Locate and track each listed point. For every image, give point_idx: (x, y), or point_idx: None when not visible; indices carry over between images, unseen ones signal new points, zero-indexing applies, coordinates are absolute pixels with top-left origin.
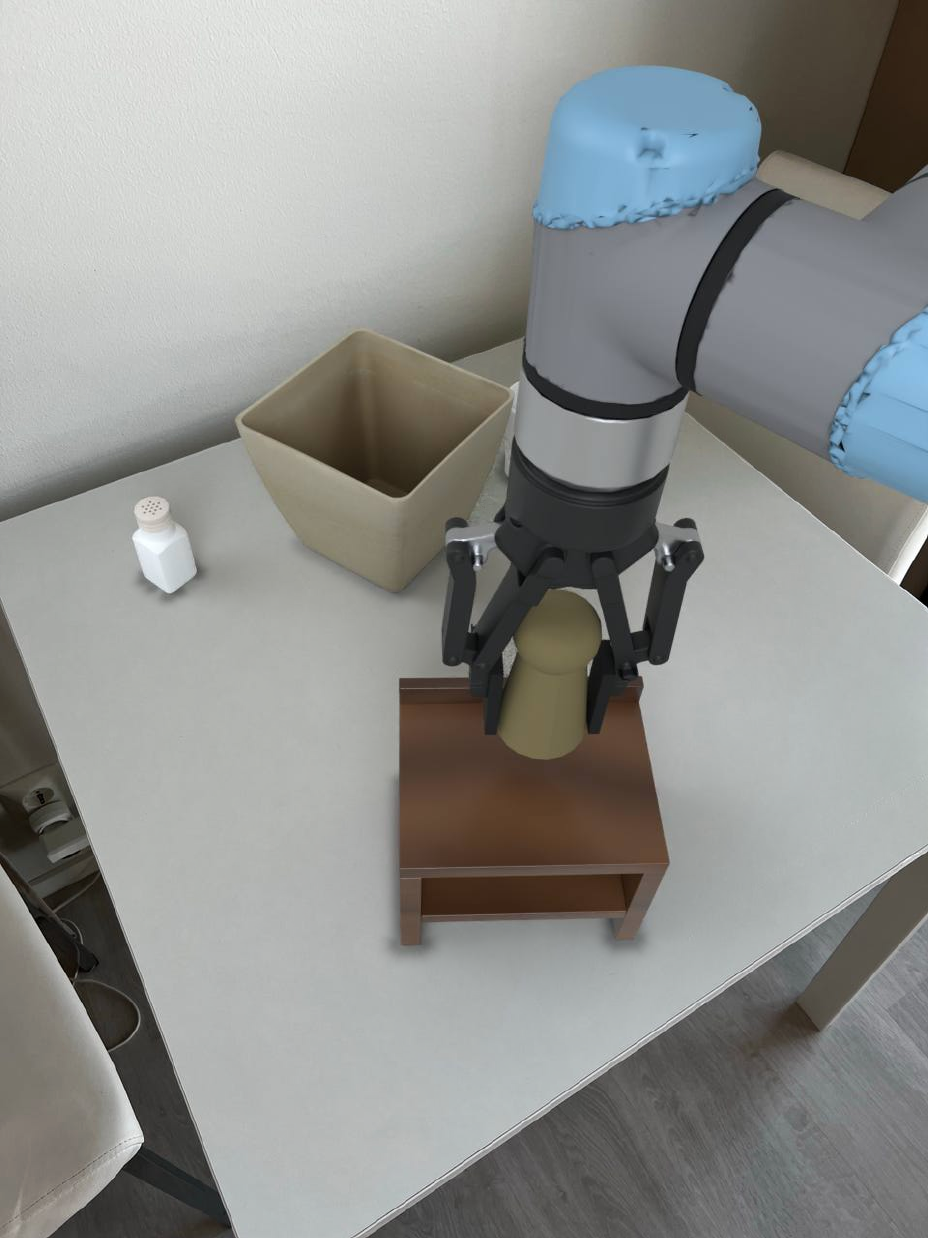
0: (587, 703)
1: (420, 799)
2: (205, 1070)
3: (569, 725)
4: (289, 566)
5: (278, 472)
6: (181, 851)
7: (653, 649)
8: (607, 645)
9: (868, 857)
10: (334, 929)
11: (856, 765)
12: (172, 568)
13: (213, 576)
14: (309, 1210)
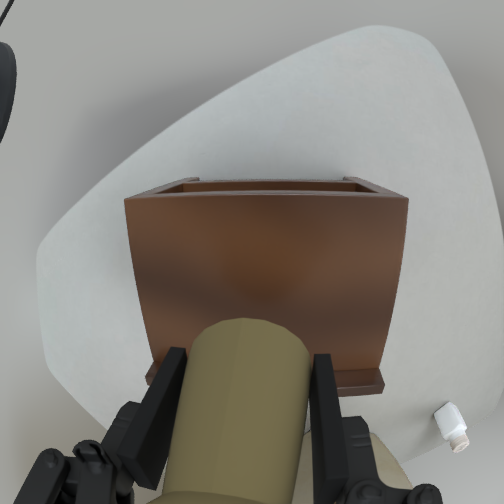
0: None
1: (380, 275)
2: (462, 116)
3: (204, 371)
4: (387, 424)
5: (400, 482)
6: (476, 253)
7: (49, 484)
8: (140, 482)
9: (54, 238)
10: (400, 193)
11: (60, 293)
12: (450, 416)
13: (426, 413)
14: (400, 35)
